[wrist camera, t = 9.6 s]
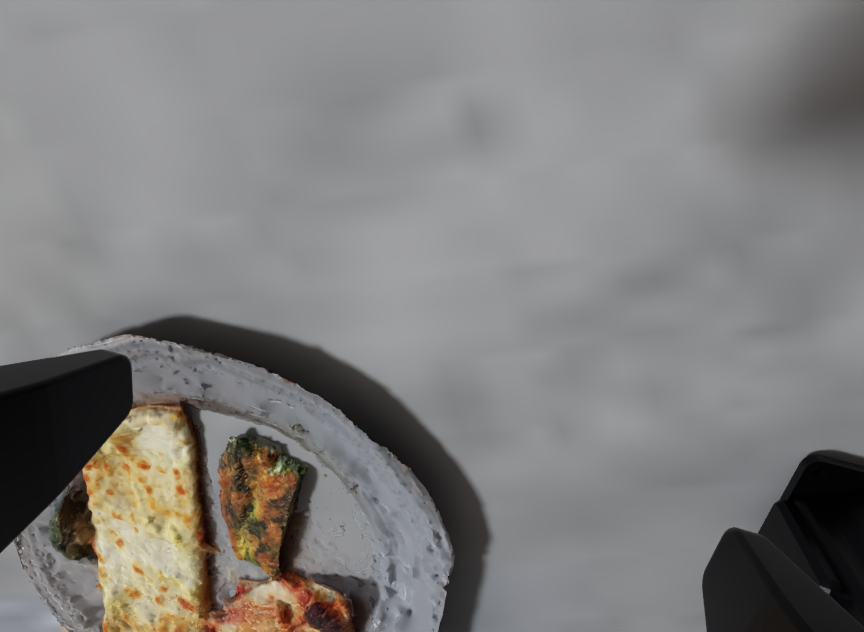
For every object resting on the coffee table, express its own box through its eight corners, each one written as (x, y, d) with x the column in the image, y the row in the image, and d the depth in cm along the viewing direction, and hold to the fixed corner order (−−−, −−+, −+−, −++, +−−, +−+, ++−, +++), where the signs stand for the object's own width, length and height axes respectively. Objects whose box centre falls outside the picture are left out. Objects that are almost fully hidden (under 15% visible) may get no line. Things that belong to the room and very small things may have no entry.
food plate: (410, 763, 32) (393, 836, 28) (67, 640, 35) (17, 693, 32) (493, 393, 23) (482, 438, 19) (19, 277, 26) (-57, 298, 23)
